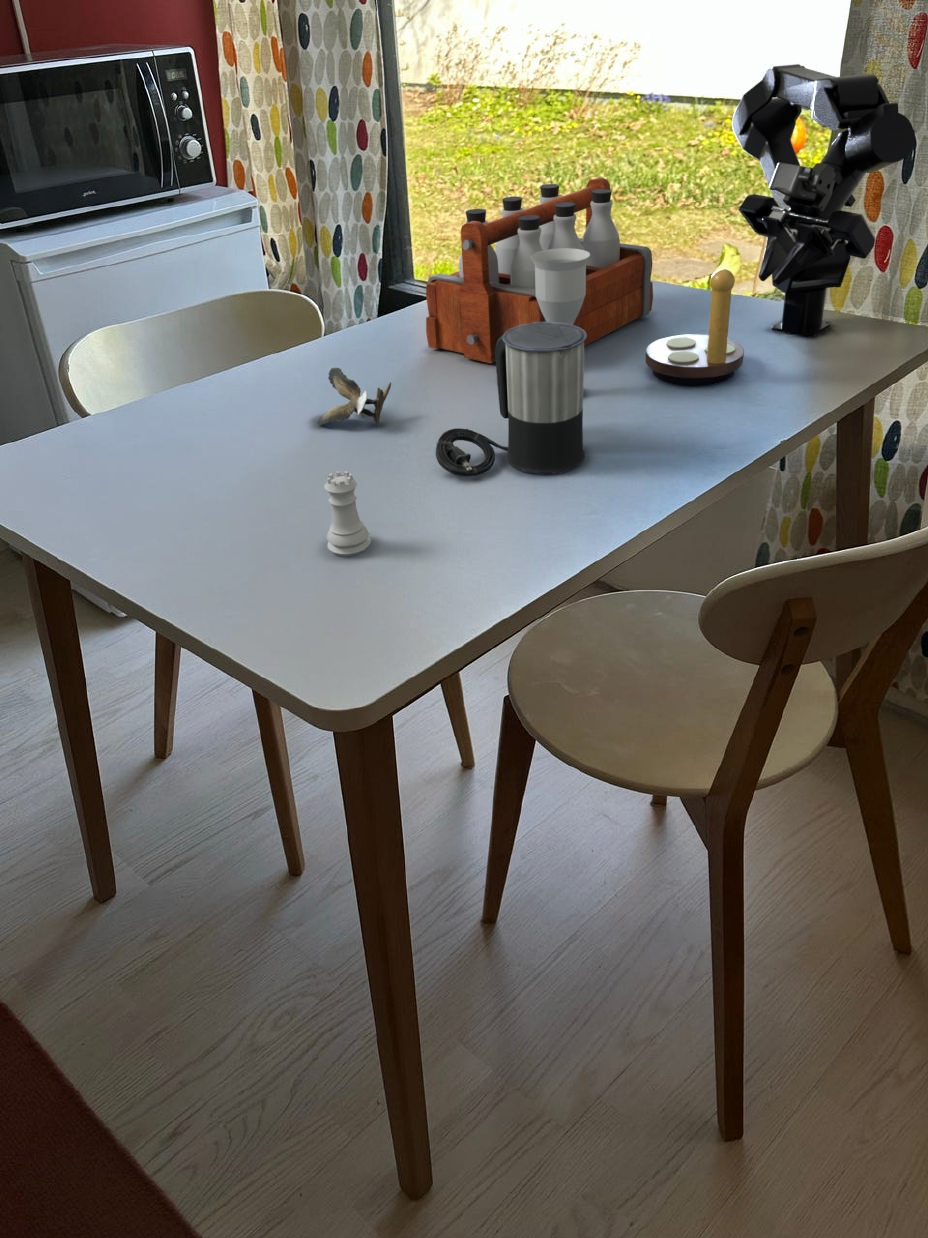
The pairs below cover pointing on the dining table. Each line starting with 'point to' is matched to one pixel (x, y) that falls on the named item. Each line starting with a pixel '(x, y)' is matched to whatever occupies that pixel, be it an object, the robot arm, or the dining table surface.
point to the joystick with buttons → (701, 341)
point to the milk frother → (531, 403)
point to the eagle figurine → (352, 399)
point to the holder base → (692, 379)
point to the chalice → (560, 283)
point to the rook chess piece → (345, 517)
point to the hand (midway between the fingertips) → (767, 281)
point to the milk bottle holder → (505, 277)
